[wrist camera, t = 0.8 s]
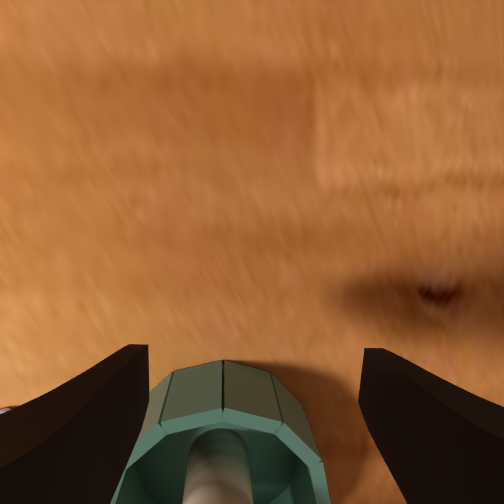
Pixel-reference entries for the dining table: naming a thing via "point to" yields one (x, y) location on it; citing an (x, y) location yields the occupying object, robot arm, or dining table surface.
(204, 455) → the birch dowel
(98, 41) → the dining table surface
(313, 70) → the dining table surface
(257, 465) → the green pot
